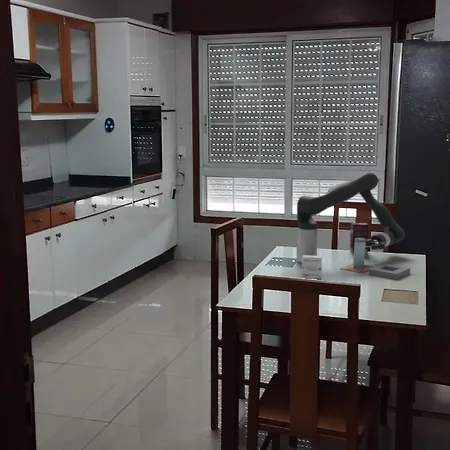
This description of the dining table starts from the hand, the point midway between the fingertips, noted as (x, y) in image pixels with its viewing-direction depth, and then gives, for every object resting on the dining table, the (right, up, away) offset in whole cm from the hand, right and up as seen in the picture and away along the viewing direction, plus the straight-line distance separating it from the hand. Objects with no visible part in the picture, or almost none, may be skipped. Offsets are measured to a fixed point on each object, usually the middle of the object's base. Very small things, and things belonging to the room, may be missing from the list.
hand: (363, 246), depth 303 cm
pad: (-3, -10, -1) cm, 11 cm away
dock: (+9, -12, -12) cm, 19 cm away
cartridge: (-3, -10, -1) cm, 10 cm away
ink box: (-29, -15, -25) cm, 41 cm away
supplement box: (+4, -5, +31) cm, 31 cm away
